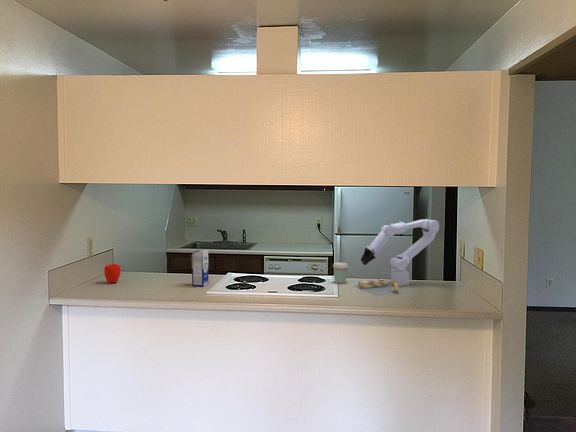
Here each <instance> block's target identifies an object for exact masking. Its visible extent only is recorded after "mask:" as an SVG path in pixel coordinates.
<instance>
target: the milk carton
mask: <svg viewBox="0 0 576 432" xmlns="http://www.w3.org/2000/svg"><path fill="white" fill-rule="evenodd" d="M191 278H192V279H191V287H200V288H204V287H207V286H208V285H209V282H210V280H209V249H204V250H201V251H200V249H197V250H194V253H192V254H191Z"/></svg>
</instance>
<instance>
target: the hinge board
mask: <svg viewBox="0 0 576 432" xmlns="http://www.w3.org/2000/svg"><path fill="white" fill-rule="evenodd" d="M353 288H357V289H359V290H361V291H362V292H363V291H364V292H366V293H367V294H370V295H372V296H375V297H385V296H386V297H387V296H393V295H394V296H396V295H405V294H407V293H406V292H404V291H401V290H398V293H397V294H396V293H394V287H390V286H387V285H386V286H384V287H369V288H359V287H358V285H353Z"/></svg>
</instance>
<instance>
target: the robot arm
mask: <svg viewBox="0 0 576 432" xmlns="http://www.w3.org/2000/svg"><path fill="white" fill-rule="evenodd" d="M416 228H421V230H422V234H423V235H422V236H421V237H420V238H419V239H418V240H416V242H414V243H413V244H412V245H411V246H409V247H408V248H407V249H406V250H404V252H402V253H400V254H397V255H396V256H395V257H391V258H390V260H389V266H390V267H391V270H390V281H395V282H397V283H399V285H398V287H401V286H403V287H404V286H409V285H410V273H409V271H408V270H407V266H409V264H410V262H411V260H412V259H413V258H414V257H415V256H417V255H418V254H419V253H420V252H422V250H424V249H425V248H426V247H427V246H428V245H430V243H433V241H434V239H435V237H436V235H437V233H438V232H439V231H440V223H439V221H437V220H435V219H428V218H424V219H418V220H414V221H411V222H407V223H405V222H403V221H398V222H397V223H390V224H384V225H383V226H381V228H380V232H379V233H378V234H377V235H376V236H375V238H374V240H373V241H372V242H371V244H369V245H366V247H365V248H364V252H363V254H362V256H361V258H360V261H361V262H362V265H364V266H367V265H368V264H369V263H371V261H372V260H375V259H376V255H378V252H379V251H381V249H382V248H383V246H384V245H385V244H386V242H387V241H388V240H389V239H390V237H393V236H395V235H398V234H404V233H406V231H407V230H411V229H416ZM390 285H391V286H393V285H392V284H390Z"/></svg>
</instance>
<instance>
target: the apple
mask: <svg viewBox="0 0 576 432" xmlns="http://www.w3.org/2000/svg"><path fill="white" fill-rule="evenodd" d="M121 271H122V269H121V266H120V265H119V264H117V263H112V264H107V265H105V266H104V271H103V272H104V278H105V280H106V282H107V283H108V284H109V283H111V284H115V283H117V282H118V281H119V278H120V276H121V273H122V272H121ZM114 282H115V283H114Z"/></svg>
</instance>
